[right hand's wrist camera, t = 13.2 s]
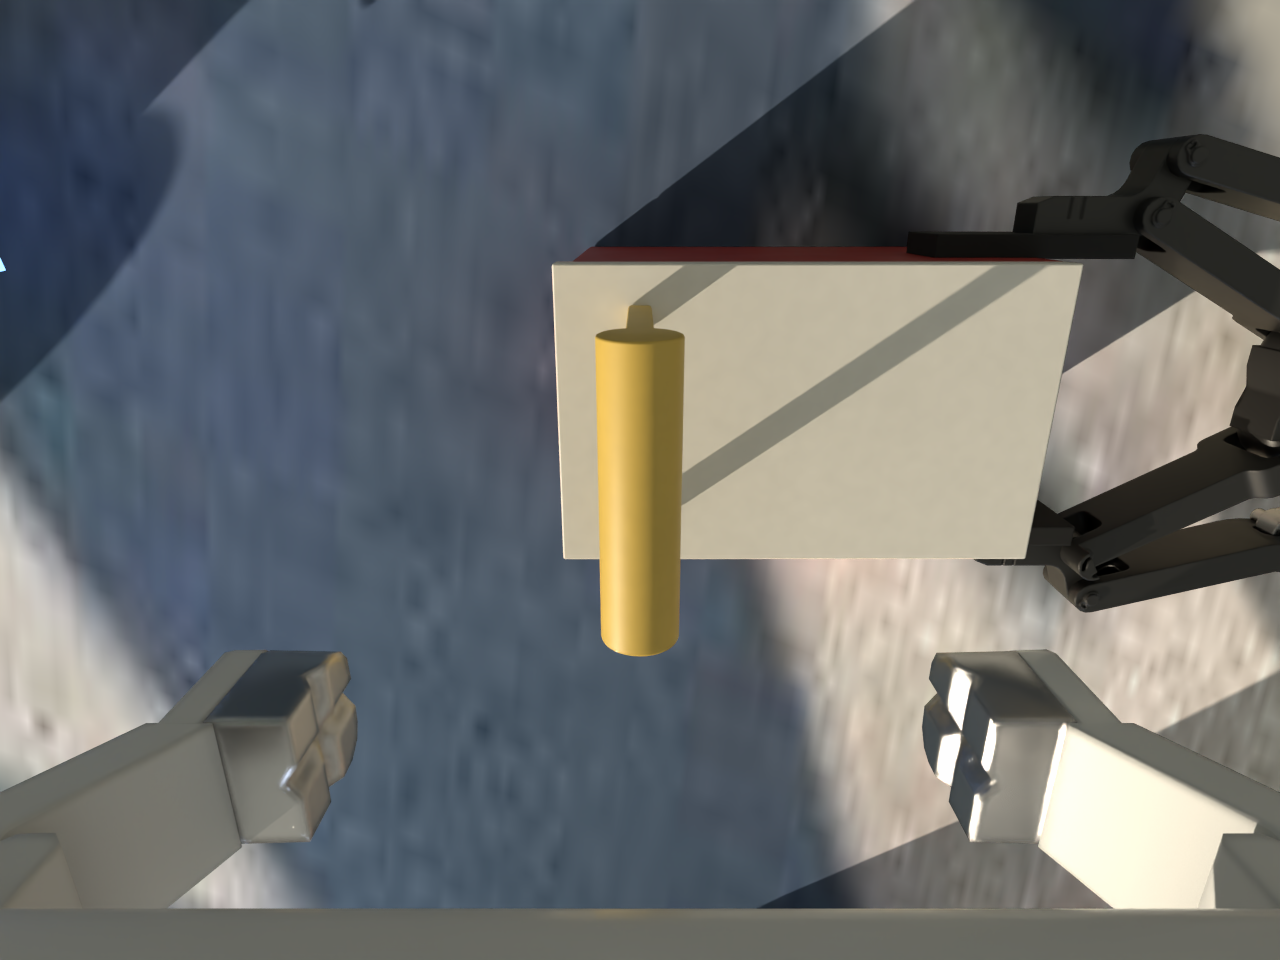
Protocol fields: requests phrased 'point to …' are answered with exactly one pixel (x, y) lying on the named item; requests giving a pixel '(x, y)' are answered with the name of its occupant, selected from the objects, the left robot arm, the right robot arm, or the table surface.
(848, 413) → the lid
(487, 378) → the table surface
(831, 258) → the chest
